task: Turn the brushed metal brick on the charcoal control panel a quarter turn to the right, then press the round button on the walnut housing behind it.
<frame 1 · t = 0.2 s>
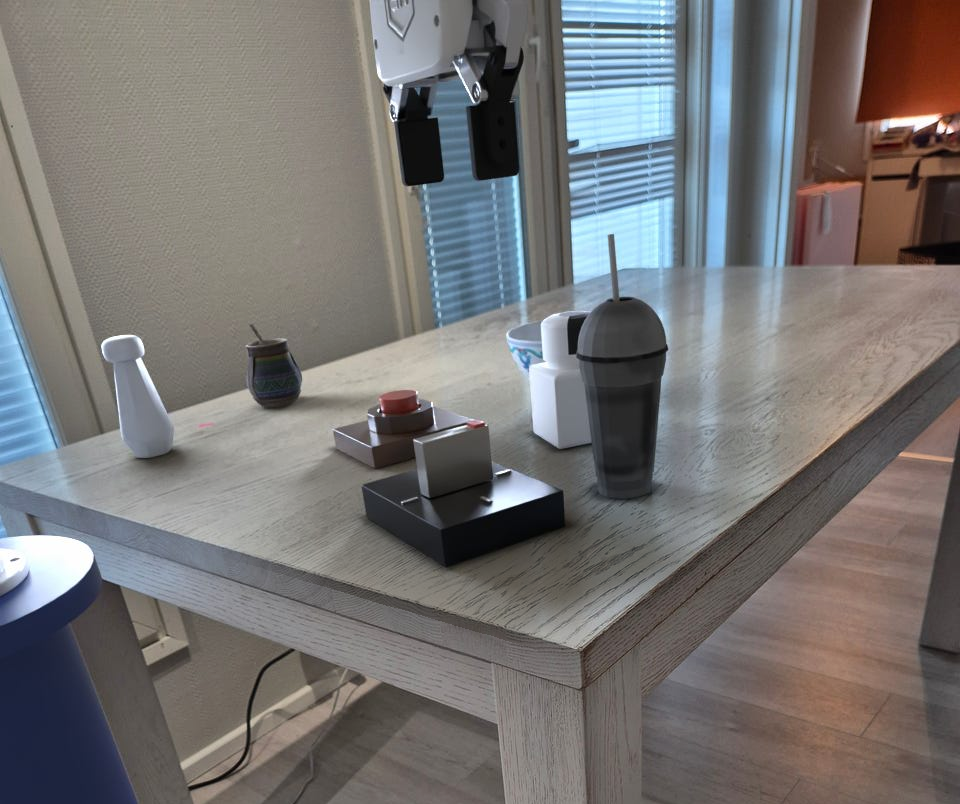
hand: (457, 181, 58), 25 cm above the table, tool pointing down, fingers open, 9 cm apart
button: (399, 403, 91), point 4 cm above the table, slide at 0.1 cm
mate gourd: (278, 404, 116), on the table
beverage cup: (624, 491, 74), on the table
chinaware: (573, 396, 104), on the table
panel: (461, 521, 71), on the table
medicine bottle: (577, 437, 89), on the table
salt shaker: (154, 454, 101), on the table
brushed metal brick: (454, 458, 69), point 5 cm above the table, hinge at 0.0°
button box: (405, 444, 93), on the table
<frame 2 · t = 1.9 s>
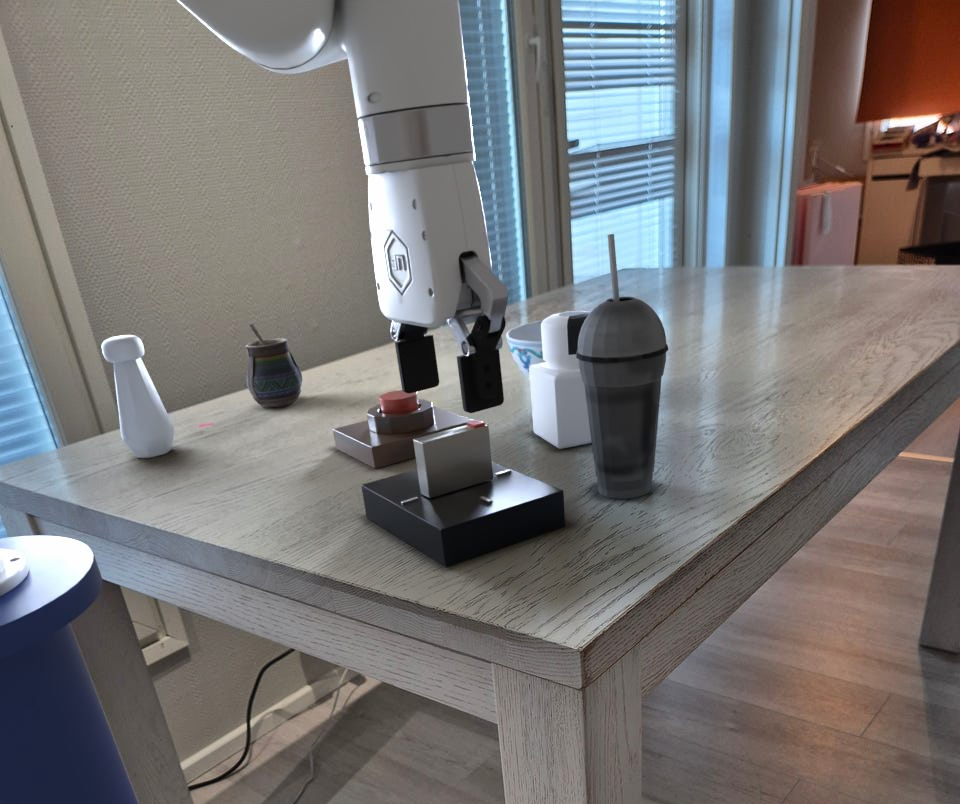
hand: (451, 398, 66), 10 cm above the table, tool pointing down, fingers open, 9 cm apart
nothing on the table moved.
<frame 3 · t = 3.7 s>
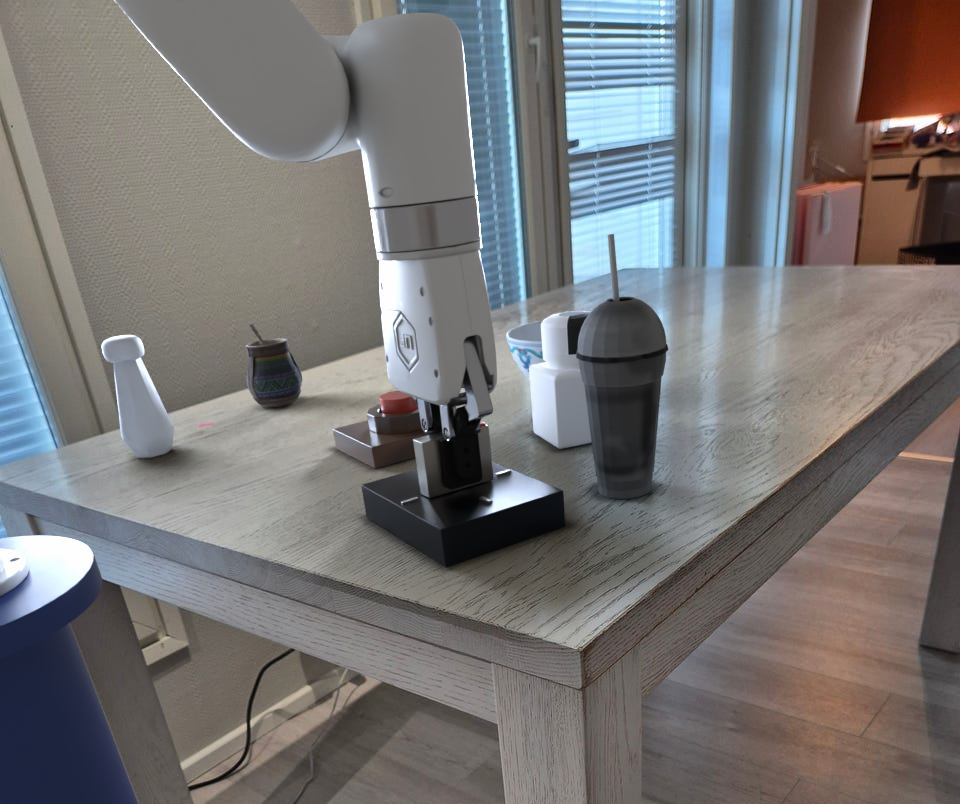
hand: (456, 479, 70), 4 cm above the table, tool pointing down, fingers closed on brushed metal brick
brushed metal brick: (454, 458, 69), point 5 cm above the table, hinge at -1.0°, touching gripper
everything else where it was.
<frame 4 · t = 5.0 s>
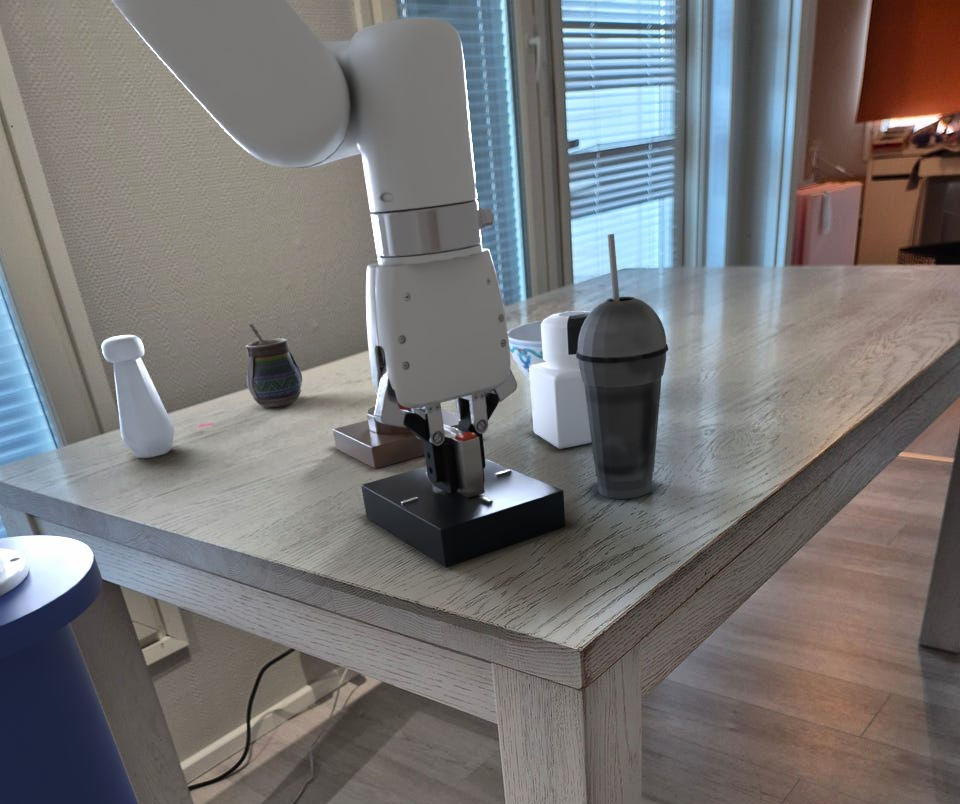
hand: (458, 483, 70), 3 cm above the table, tool pointing down, fingers closed
brushed metal brick: (454, 458, 69), point 5 cm above the table, hinge at -90.0°
everything else where it was.
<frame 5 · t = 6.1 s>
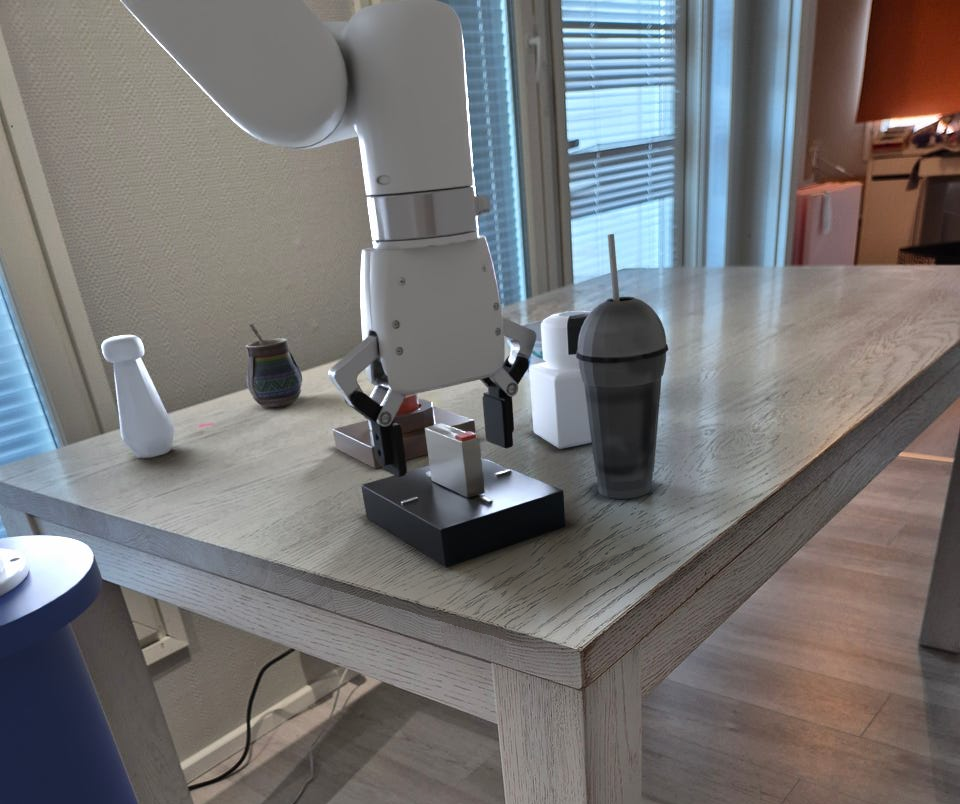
hand: (448, 458, 69), 6 cm above the table, tool pointing down, fingers open, 9 cm apart
nothing on the table moved.
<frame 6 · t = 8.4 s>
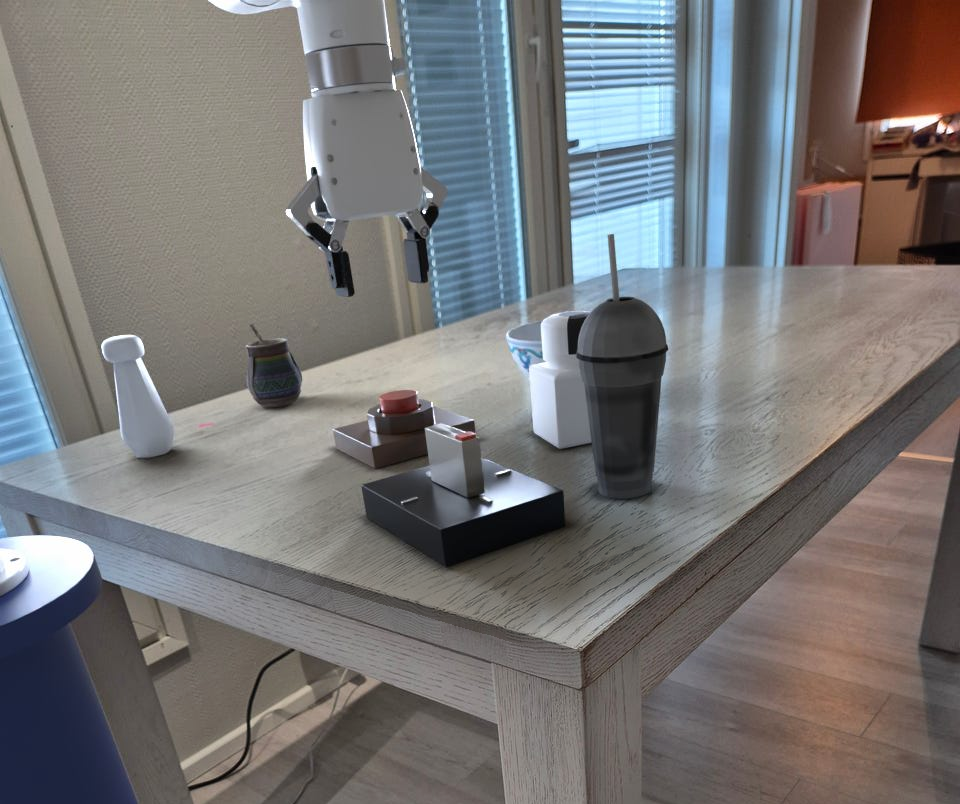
hand: (382, 287, 85), 16 cm above the table, tool pointing down, fingers open, 7 cm apart
nothing on the table moved.
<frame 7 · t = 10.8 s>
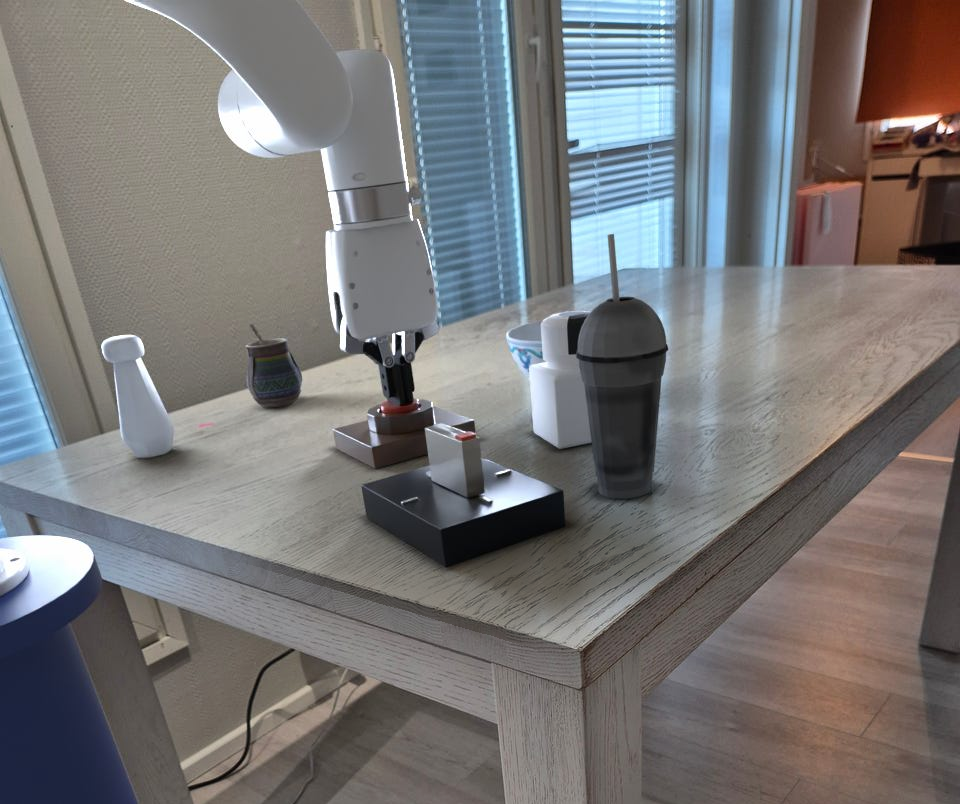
hand: (400, 401, 91), 5 cm above the table, tool pointing down, fingers closed
button: (400, 410, 91), point 4 cm above the table, slide at -0.7 cm, touching gripper
everything else where it was.
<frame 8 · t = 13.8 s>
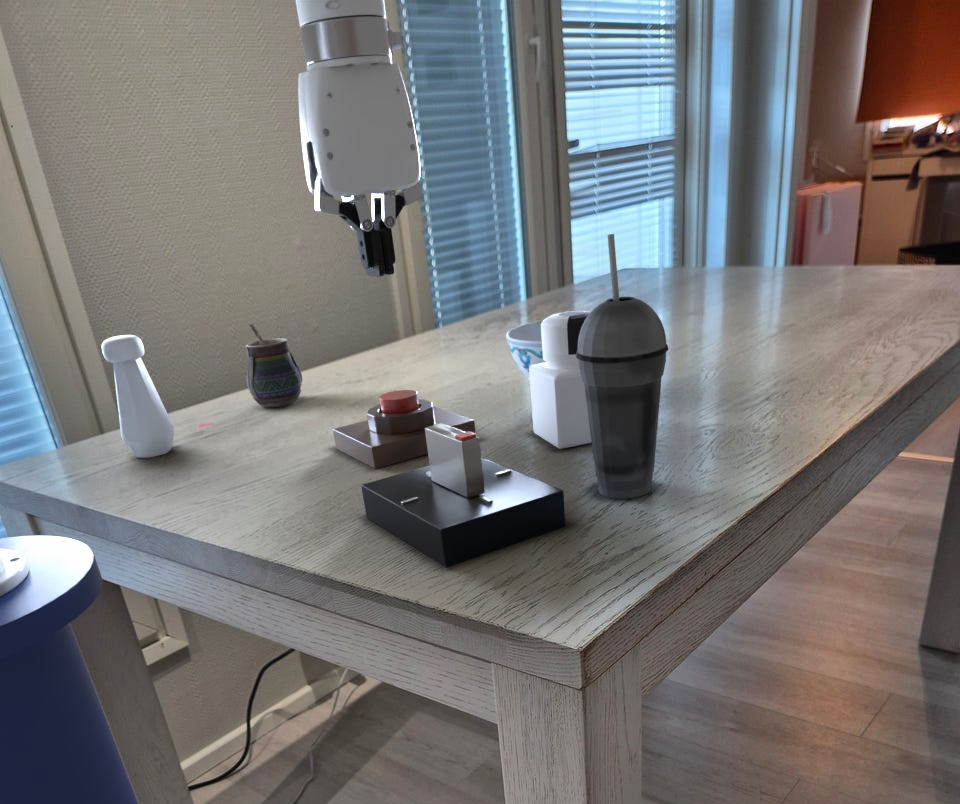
hand: (380, 274, 84), 17 cm above the table, tool pointing down, fingers closed
button: (399, 403, 91), point 4 cm above the table, slide at 0.1 cm
everything else where it was.
at the end: brushed metal brick at -90° (first picture: +0°); button pushed in 1.1 cm at the most during the clip, back to where it started at the end; button slide at 0.1 cm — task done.
